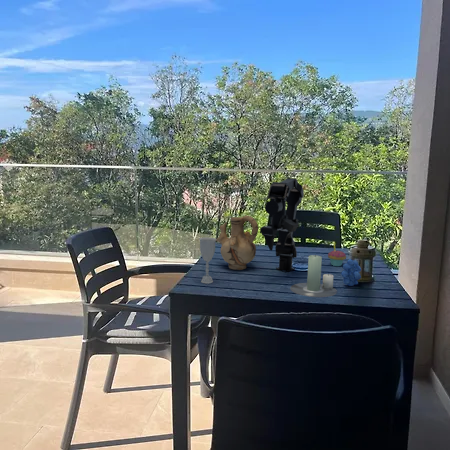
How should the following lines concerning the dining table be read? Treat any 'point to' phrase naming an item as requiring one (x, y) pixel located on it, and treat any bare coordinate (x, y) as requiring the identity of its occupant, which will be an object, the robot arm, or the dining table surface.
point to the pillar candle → (314, 273)
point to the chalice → (207, 255)
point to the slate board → (302, 290)
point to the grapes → (351, 272)
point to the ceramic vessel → (238, 242)
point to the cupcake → (336, 257)
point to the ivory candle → (327, 281)
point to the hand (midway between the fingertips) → (276, 248)
